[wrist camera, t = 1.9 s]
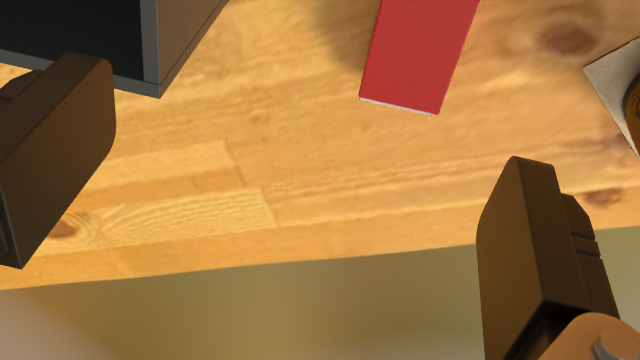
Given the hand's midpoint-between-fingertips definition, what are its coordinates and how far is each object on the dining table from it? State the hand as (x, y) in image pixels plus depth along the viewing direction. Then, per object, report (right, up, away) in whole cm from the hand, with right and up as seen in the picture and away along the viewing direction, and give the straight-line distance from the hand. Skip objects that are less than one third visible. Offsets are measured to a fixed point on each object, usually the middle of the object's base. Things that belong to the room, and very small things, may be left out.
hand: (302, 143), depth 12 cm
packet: (+6, +9, +23) cm, 26 cm away
